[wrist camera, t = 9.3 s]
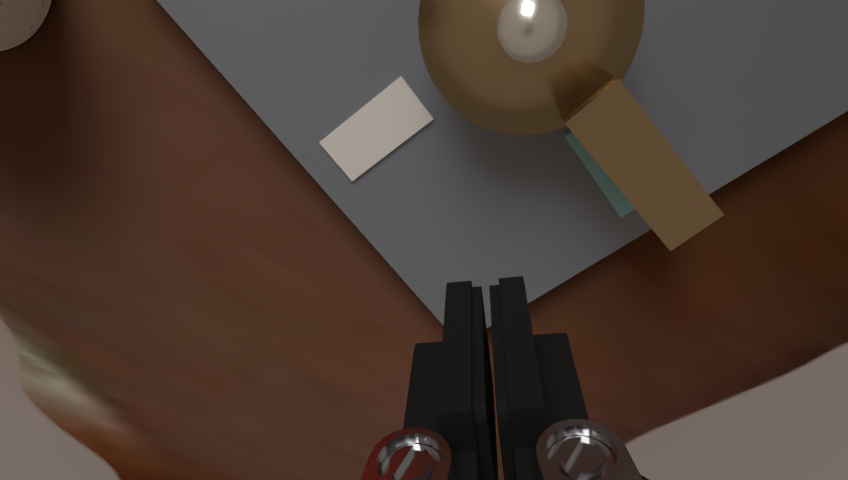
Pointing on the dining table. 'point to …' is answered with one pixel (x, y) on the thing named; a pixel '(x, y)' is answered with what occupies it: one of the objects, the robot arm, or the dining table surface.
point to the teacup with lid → (20, 20)
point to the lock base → (505, 153)
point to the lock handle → (564, 91)
